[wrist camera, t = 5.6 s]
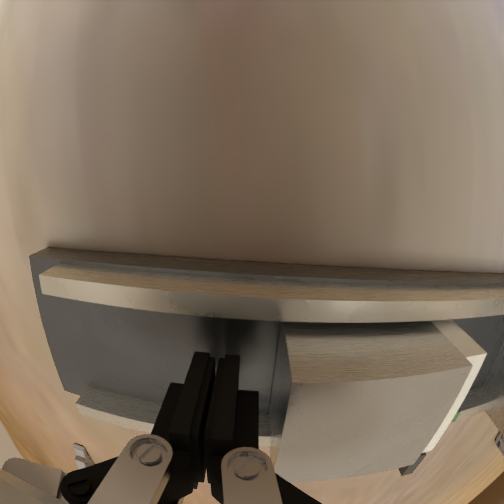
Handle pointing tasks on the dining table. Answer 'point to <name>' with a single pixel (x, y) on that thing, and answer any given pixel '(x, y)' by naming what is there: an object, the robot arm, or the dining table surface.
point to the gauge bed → (233, 322)
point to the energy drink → (500, 442)
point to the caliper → (82, 457)
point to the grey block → (359, 396)
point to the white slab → (476, 359)
